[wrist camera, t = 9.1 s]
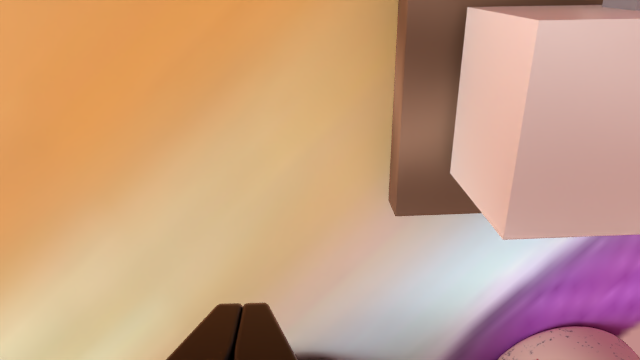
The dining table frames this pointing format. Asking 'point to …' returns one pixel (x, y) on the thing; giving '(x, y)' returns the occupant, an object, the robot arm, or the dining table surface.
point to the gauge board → (432, 103)
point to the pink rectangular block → (551, 119)
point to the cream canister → (571, 346)
